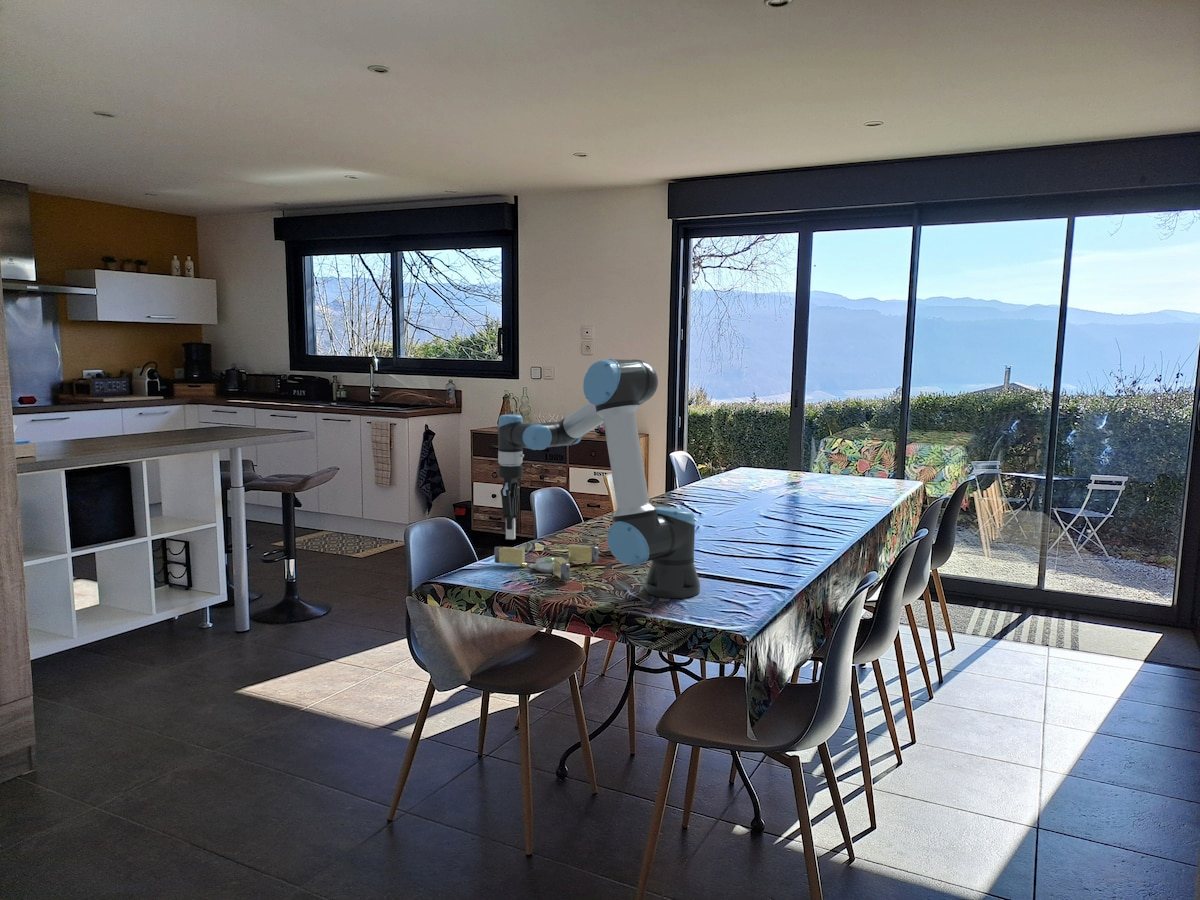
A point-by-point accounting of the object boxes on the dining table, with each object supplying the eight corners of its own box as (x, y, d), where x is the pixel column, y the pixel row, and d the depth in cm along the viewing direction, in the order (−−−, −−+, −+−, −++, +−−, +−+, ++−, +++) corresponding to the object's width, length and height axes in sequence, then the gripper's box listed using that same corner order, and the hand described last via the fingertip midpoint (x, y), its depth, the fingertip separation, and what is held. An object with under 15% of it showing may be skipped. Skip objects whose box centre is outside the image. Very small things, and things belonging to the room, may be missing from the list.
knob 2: (565, 563, 248) (565, 546, 248) (567, 561, 251) (567, 544, 250) (597, 565, 245) (597, 548, 245) (599, 563, 248) (599, 546, 247)
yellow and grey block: (528, 565, 246) (527, 548, 245) (525, 567, 243) (525, 550, 242) (496, 563, 248) (496, 546, 247) (493, 565, 245) (493, 548, 244)
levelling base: (559, 574, 236) (559, 563, 236) (524, 572, 238) (524, 561, 238) (569, 564, 248) (569, 554, 247) (535, 562, 250) (535, 552, 250)
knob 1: (552, 574, 235) (552, 556, 235) (561, 574, 236) (561, 555, 236) (562, 584, 226) (562, 565, 225) (570, 583, 226) (570, 564, 226)
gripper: (515, 467, 240) (515, 544, 243) (528, 462, 252) (528, 534, 256) (492, 466, 241) (492, 542, 244) (505, 461, 254) (505, 533, 257)
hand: (510, 538), depth 250 cm, fingers closed
